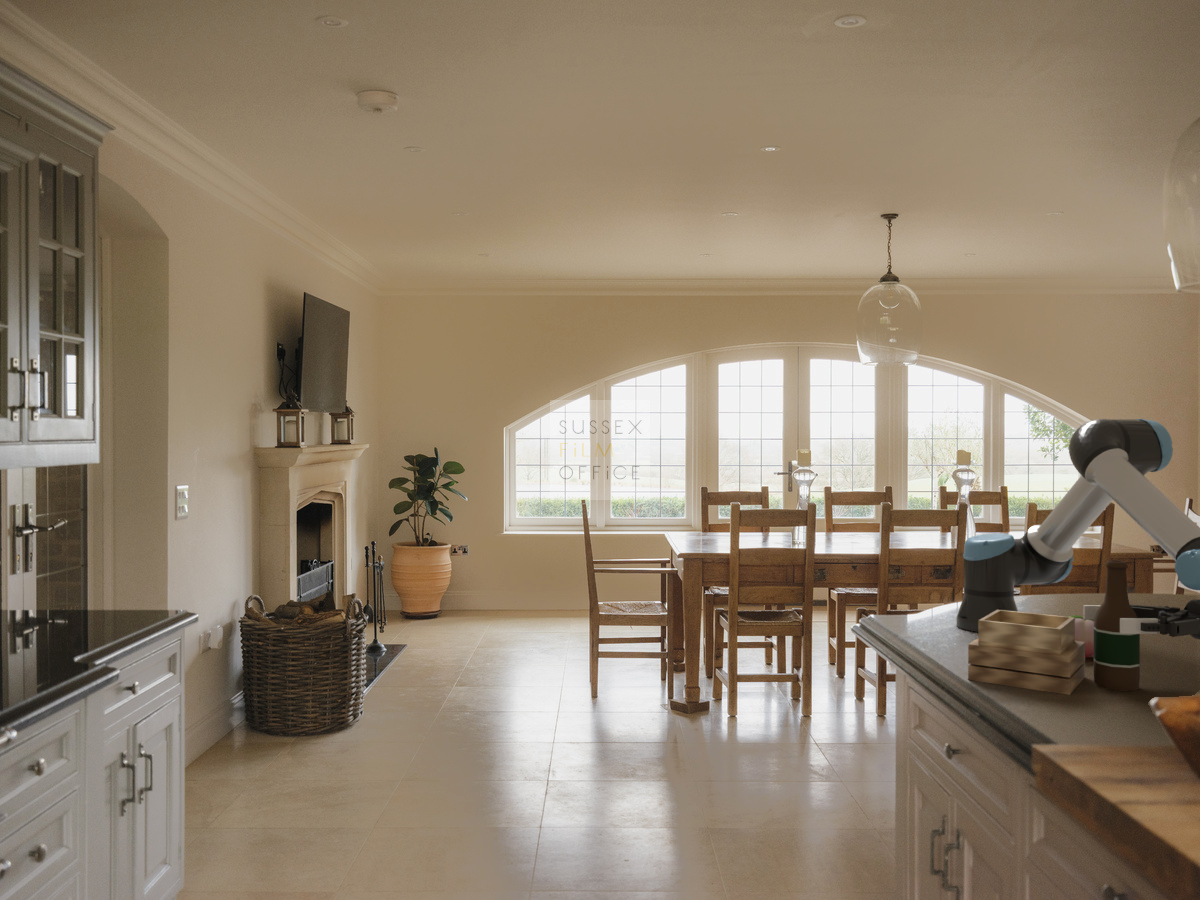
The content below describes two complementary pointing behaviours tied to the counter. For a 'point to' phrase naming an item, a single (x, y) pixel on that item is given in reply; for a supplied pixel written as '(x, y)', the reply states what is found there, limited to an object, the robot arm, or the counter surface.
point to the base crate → (1028, 667)
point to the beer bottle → (1115, 635)
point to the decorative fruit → (1085, 633)
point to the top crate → (1027, 631)
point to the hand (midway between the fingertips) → (1101, 618)
